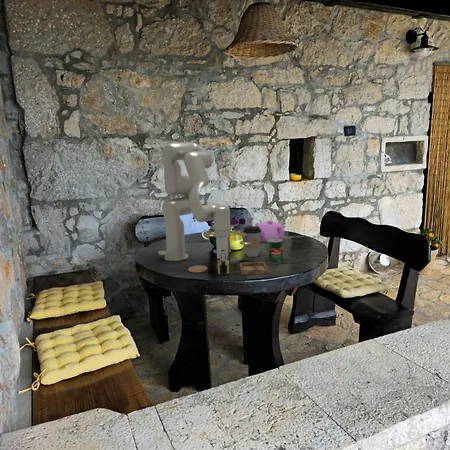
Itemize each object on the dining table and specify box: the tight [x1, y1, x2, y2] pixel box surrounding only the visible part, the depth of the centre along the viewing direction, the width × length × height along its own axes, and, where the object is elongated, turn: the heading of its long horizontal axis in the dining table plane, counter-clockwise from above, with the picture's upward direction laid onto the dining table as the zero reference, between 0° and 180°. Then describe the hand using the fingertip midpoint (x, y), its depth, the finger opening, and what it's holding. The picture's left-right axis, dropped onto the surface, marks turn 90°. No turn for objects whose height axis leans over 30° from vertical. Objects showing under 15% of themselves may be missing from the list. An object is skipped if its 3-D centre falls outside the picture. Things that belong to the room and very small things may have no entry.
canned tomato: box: [266, 238, 284, 265], centre depth 200 cm, size 8×8×11 cm
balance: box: [203, 225, 252, 264], centre depth 201 cm, size 23×6×18 cm, turn 92°
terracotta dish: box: [188, 265, 208, 273], centre depth 192 cm, size 9×9×1 cm
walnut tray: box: [239, 261, 269, 276], centre depth 188 cm, size 12×12×2 cm
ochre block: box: [217, 259, 230, 275], centre depth 187 cm, size 5×5×5 cm
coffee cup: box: [242, 225, 261, 258], centre depth 212 cm, size 9×9×15 cm
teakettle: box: [254, 219, 286, 244], centre depth 244 cm, size 17×17×12 cm
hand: (223, 270), depth 187 cm, fingers closed on ochre block, 5 cm apart
